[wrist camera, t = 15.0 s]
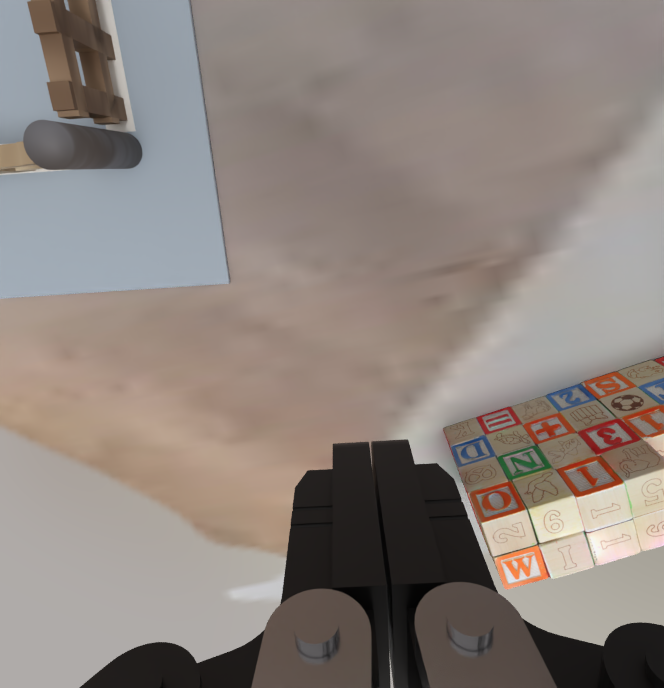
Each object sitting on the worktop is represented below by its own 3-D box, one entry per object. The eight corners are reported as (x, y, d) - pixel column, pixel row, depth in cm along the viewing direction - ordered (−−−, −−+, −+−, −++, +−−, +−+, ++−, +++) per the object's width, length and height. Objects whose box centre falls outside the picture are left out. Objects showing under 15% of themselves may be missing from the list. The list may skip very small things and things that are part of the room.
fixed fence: (69, -36, 31) (-48, -125, 21) (106, -39, 31) (6, -129, 21) (112, 169, 35) (30, 171, 25) (145, 167, 35) (75, 168, 25)
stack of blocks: (690, 343, 40) (835, 416, 28) (700, 407, 42) (839, 499, 30) (440, 427, 43) (480, 525, 31) (460, 483, 45) (505, 594, 33)
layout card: (-190, -31, 31) (-198, -33, 31) (181, -62, 30) (179, -65, 30) (-69, 301, 39) (-74, 303, 38) (230, 282, 38) (229, 283, 38)
